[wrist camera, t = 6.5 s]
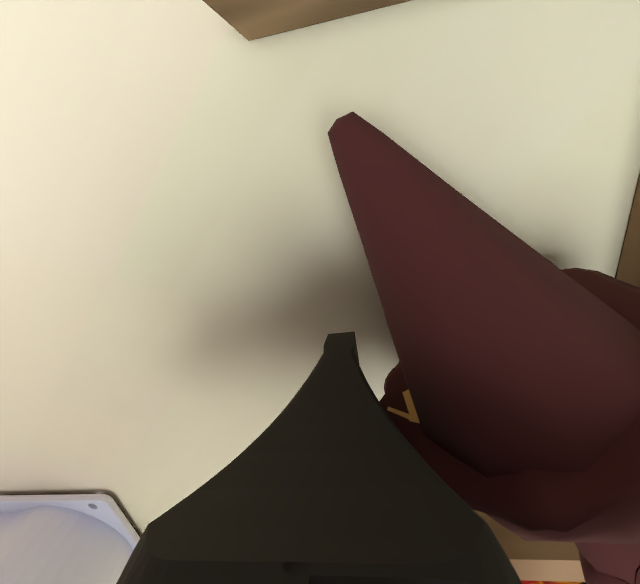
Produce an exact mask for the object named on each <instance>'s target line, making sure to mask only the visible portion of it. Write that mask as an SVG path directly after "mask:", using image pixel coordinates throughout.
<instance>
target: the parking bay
mask: <svg viewBox="0 0 640 584" xmlns="http://www.w3.org/2000/svg"><path fill="white" fill-rule="evenodd" d="M203 1H204V2H205V3H206V4H207V5H209V6H210V7H211V8H212V9H213V10H214V11H215V12H217V13H218V14H219V15H220V16H221V17H222V18H223V19H225V20H226V21H227V22H228V23H229V24H230V25H231V26H233V27H234V28H235V29H236V30H237V31H238V32H239V33H241V34H242V35H243V36H244V37H245V38H246V39H247V40H253V39H257V38H261V37H265V36H269V35H273V34H277V33H281V32H285V31H289V30H293V29H297V28H301V27H305V26H309V25H313V24H317V23H321V22H325V21H329V20H333V19H337V18H341V17H346V16H350V15H354V14H358V13H362V12H366V11H370V10H374V9H378V8H382V7H386V6H390V5H394V4H398V3H402V2H406V1H410V0H203ZM616 279H618V280H621V281H624V282H626V283H629V284H631V285H634V286H636V287H639V288H640V177H639V181H638V185H637V190H636V194H635V198H634V202H633V207H632V211H631V215H630V220H629V224H628V228H627V232H626V237H625V241H624V245H623V250H622V254H621V258H620V262H619V267H618V271H617V275H616ZM474 511H475V512H476V513H477V514H478V515H479V516H480V517H481V518H483V519H484V520H485V521H486V522H487V524H488V525H489V527H490V528H491V530H492V532H493V533H494V535H495V537H496V538H497V540H498V541H499V543H500V545H501V546H502V548H503V550H504V551H505V553H506V555H507V557H508V558H509V560H510V562H511V564H512V565H513V567H514V569H515V571H516V573H517V574H518V576H519V578H520V580H526V581H564V582H585V580H584V575H583V571H582V567H581V563H580V558H579V551H578V548H577V546H576V544H575V542H550V541H525V540H523V539H522V538H520V537H519V536H517V535H516V534H514V533H513V532H511V531H509V530H508V529H506V528H505V527H503V526H502V525H500V524H499V523H498V522H496V521H495V520H493V519H492V518H491V517H489V516H488V515H486V514H485V513H482V512H479V511H476V510H474Z"/></svg>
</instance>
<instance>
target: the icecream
mask: <svg viewBox="0 0 640 584" xmlns="http://www.w3.org/2000/svg"><path fill="white" fill-rule="evenodd" d="M328 136H329V139H330V143H331V146H332V150H333V154H334V157H335V161H336V164H337V168H338V171H339V174H340V177H341V180H342V183H343V186H344V189H345V192H346V195H347V198H348V202H349V205H350V208H351V211H352V214H353V217H354V220H355V223H356V226H357V229H358V232H359V235H360V238H361V241H362V244H363V248H364V251H365V254H366V257H367V260H368V263H369V266H370V270H371V273H372V276H373V279H374V282H375V285H376V288H377V292H378V295H379V298H380V301H381V304H382V307H383V310H384V314H385V317H386V320H387V323H388V326H389V329H390V332H391V336H392V339H393V342H394V345H395V348H396V351H397V354H398V358H399V363H398V364H397V366H396V367H395V368H393V369H392V370H391V372H390V373H389V374H388V376H387V378H386V379H385V384H384V391H385V395H384V396H383V397H382V399H381V400H380V402H379V403H380V404H381V406H382V407H383V409H384V410H385V411H386V413H387V414H388V416H389V417H390V419H391V420H392V421H393V423H394V424H395V425H396V427H397V428H398V429H399V431H400V432H401V433H402V435H403V436H404V437H405V438H406V439H407V441H408V442H409V443H410V444H411V445H412V446H413V448H414V449H415V450H416V451H417V452H418V453H419V455H420V456H421V457H422V458H423V459H424V460H425V462H426V463H427V464H428V465H429V466H430V467H431V468H432V469H433V470H434V471H435V472H436V473H437V474H438V476H439V477H440V478H441V479H442V480H443V481H444V482H445V483H446V484H447V485H448V486H449V487H450V488H451V489H452V490H453V491H454V492H455V493H456V494H457V495H458V496H459V497H460V498H461V499H462V500H463V501H464V502H465V503H466V504H468V505H469V506H470V507H471V508H472V509H473V510H476V511H479V512H482V513H485V514H486V515H488V516H489V517H491V518H492V519H493V520H495V521H496V522H498V523H499V524H500V525H502V526H503V527H505V528H506V529H508V530H509V531H511V532H513V533H514V534H516V535H517V536H519V537H520V538H522V539H523V540H525V541H550V542H575V544H576V546H577V548H578V551H579V558H580V563H581V567H582V571H583V575H584V580H585V582H586V583H587V584H640V288H639V287H636V286H634V285H631V284H629V283H626V282H624V281H621V280H618V279H616V278H613V277H611V276H608V275H606V274H603V273H600V272H598V271H592V270H586V269H579V268H571V269H564V270H560V269H559V268H558V267H556V266H555V265H554V264H552V263H551V262H550V261H548V260H547V259H546V258H544V257H543V256H542V255H541V254H539V253H538V252H537V251H535V250H534V249H533V248H531V247H530V246H529V245H527V244H526V243H525V242H523V241H522V240H521V239H519V238H518V237H517V236H516V235H514V234H513V233H512V232H510V231H509V230H508V229H506V228H505V227H504V226H502V225H501V224H500V223H498V222H497V221H496V220H494V219H493V218H492V217H491V216H489V215H488V214H487V213H485V212H484V211H483V210H481V209H480V208H479V207H477V206H476V205H475V204H473V203H472V202H471V201H469V200H468V199H467V198H466V197H464V196H463V195H462V194H460V193H459V192H458V191H456V190H455V189H454V188H452V187H451V186H450V185H449V184H447V183H446V182H445V181H443V180H442V179H441V178H440V177H438V176H437V175H436V174H435V173H433V172H432V171H431V170H429V169H428V168H427V167H426V166H424V165H423V164H422V163H421V162H419V161H418V160H417V159H416V158H414V157H413V156H412V155H410V154H409V153H408V152H407V151H405V150H404V149H403V148H402V147H400V146H399V145H398V144H396V143H395V142H394V141H393V140H391V139H390V138H389V137H388V136H386V135H385V134H384V133H382V132H381V131H379V130H378V129H377V128H375V127H374V126H372V125H371V124H370V123H368V122H367V121H365V120H364V119H362V118H361V117H360V116H358V115H357V114H355V113H354V112H351V113H349V114H347V115H345V116H343V117H341V118H338V119H337V120H336V121H335V123H334V124H333V126H332V127H331V129H330V130H329V132H328Z"/></svg>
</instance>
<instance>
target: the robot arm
mask: <svg viewBox="0 0 640 584" xmlns="http://www.w3.org/2000/svg"><path fill="white" fill-rule="evenodd" d="M0 584H522V582H521V580H520V578H519V576H518V574H517V573H516V571H515V569H514V567H513V565H512V564H511V562H510V560H509V558H508V557H507V555H506V553H505V551H504V550H503V548H502V546H501V545H500V543H499V541H498V540H497V538H496V537H495V535H494V533H493V532H492V530H491V528H490V527H489V525H488V524H487V522H486V521H485V520H484V519H483V518H481V517H480V516H479V515H478V514H477V513H476V512H475V511H474V510H473V509H472V508H471V507H470V506H469V505H468V504H466V503H465V502H464V501H463V500H462V499H461V498H460V497H459V496H458V495H457V494H456V493H455V492H454V491H453V490H452V489H451V488H450V487H449V486H448V485H447V484H446V483H445V482H444V481H443V480H442V479H441V478H440V477H439V476H438V474H437V473H436V472H435V471H434V470H433V469H432V468H431V467H430V466H429V465H428V464H427V463H426V462H425V460H424V459H423V458H422V457H421V456H420V455H419V453H418V452H417V451H416V450H415V449H414V448H413V446H412V445H411V444H410V443H409V442H408V441H407V439H406V438H405V437H404V436H403V435H402V433H401V432H400V431H399V429H398V428H397V427H396V425H395V424H394V423H393V421H392V420H391V419H390V417H389V416H388V414H387V413H386V411H385V410H384V409H383V407H382V406H381V404H380V403H379V401H378V399H377V398H376V396H375V394H374V393H373V391H372V389H371V388H370V386H369V384H368V382H367V380H366V378H365V376H364V374H363V372H362V370H361V368H360V366H359V359H358V352H357V346H356V339H355V333H354V332H346V333H335V334H328V336H327V338H326V341H325V344H324V353H323V355H322V356H321V358H320V360H319V361H318V363H317V365H316V366H315V368H314V369H313V371H312V372H311V374H310V376H309V377H308V379H307V380H306V381H305V383H304V384H303V385H302V387H301V388H300V390H299V391H298V392H297V394H296V395H295V396H294V398H293V399H292V400H291V402H290V403H289V404H288V405H287V406H286V408H285V409H284V410H283V411H282V412H281V414H280V415H279V416H278V417H277V418H276V419H275V420H274V421H273V423H272V424H271V425H270V426H269V427H268V428H267V429H266V430H265V431H264V432H263V433H262V434H261V435H260V436H259V437H258V438H257V439H256V440H255V441H254V442H253V443H252V444H251V445H250V446H249V447H248V448H247V449H245V450H244V451H243V452H242V453H241V454H240V455H239V456H238V457H237V458H235V459H234V460H233V461H232V462H231V463H230V464H228V465H227V466H226V467H225V468H224V469H222V470H221V471H220V472H219V473H218V474H216V475H215V476H214V477H213V478H211V479H210V480H209V481H208V482H206V483H205V484H204V485H202V486H201V487H200V488H199V489H197V490H196V491H195V492H193V493H192V494H190V495H189V496H188V497H186V498H185V499H183V500H182V501H181V502H179V503H178V504H176V505H175V506H174V507H172V508H171V509H169V510H168V511H167V512H165V513H164V514H163V515H161V516H160V517H158V518H157V519H155V520H154V521H152V522H151V523H149V524H148V526H147V528H146V529H145V531H144V533H143V534H142V536H141V538H140V537H139V535H138V534H137V533H136V531H135V530H134V528H133V527H132V525H131V524H130V523H129V521H128V520H127V518H126V517H125V515H124V514H123V513H122V511H121V510H120V508H119V507H118V505H117V504H116V503H115V501H114V500H113V498H112V497H110V496H109V495H106V494H64V495H1V496H0Z"/></svg>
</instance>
